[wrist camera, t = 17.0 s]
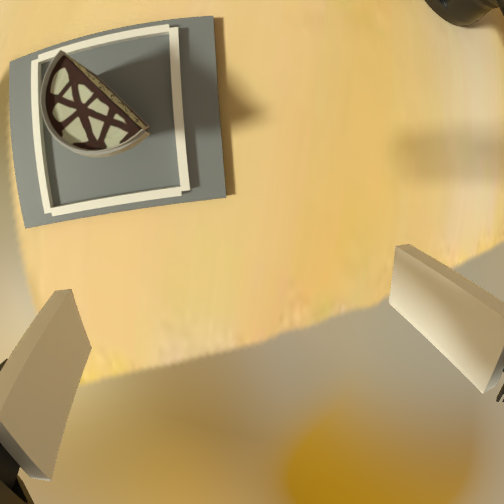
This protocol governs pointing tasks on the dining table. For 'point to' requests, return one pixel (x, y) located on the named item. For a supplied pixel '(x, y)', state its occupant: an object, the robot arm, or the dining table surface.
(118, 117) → the food container
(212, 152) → the dock board
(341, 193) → the dining table surface
